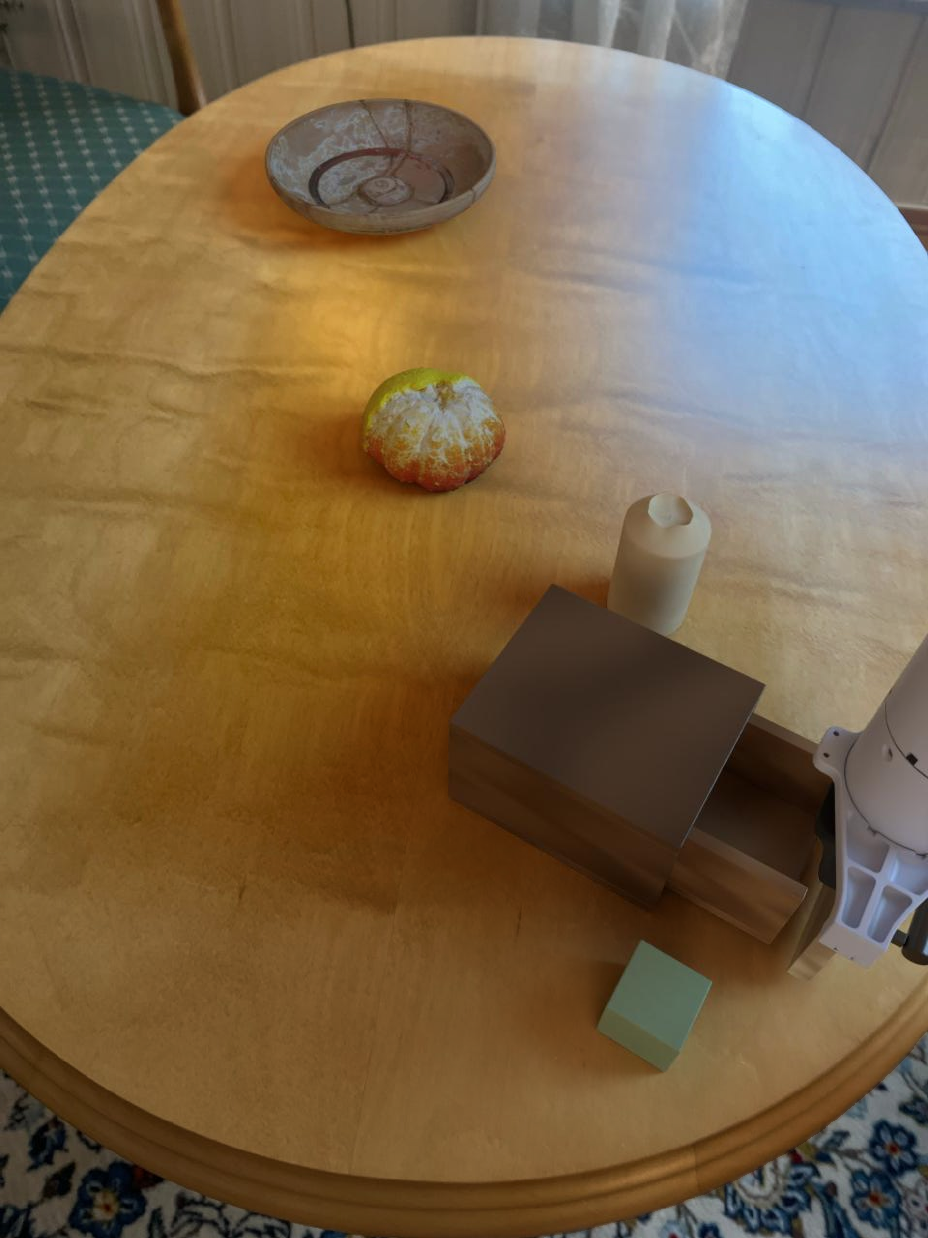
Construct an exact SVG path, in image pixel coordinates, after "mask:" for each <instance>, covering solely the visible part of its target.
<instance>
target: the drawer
mask: <svg viewBox="0 0 928 1238" xmlns="http://www.w3.org/2000/svg"><path fill="white" fill-rule="evenodd" d="M818 745H819V743H817V742H815V741H813V740H811V739H809V738H807V737H805V736H802V735H800V734H798V733H796V732H795V731H793V730H791V729H789V728H786V727H784V726H782V725H780V724H778V723H777V722H776V723H775V722H774V721H771V720H770V719H767V718H766V717H764V716H762V715H759V714H757V713H755V712H754V713H752V715H751V717H750V718H749V720H748V722H747V724H746V726H745V728H744V730H743V732H742V734H741V736H740V737H739V739H738V741H737V743H736V745H735V747H734V749H733V751H732V753H731V755H730V757H729V758H728V760H727V762H726V764H725V766H724V768H723V770H722V772H721V774H720V776H719V778H718V779H717V781H716V783H715V785H714V787H713V789H712V791H711V793H710V795H709V797H708V798H707V800H706V802H705V804H704V806H703V808H702V810H701V812H700V814H699V816H698V818H697V819H696V821H695V823H694V825H693V827H692V829H691V831H690V833H689V835H688V837H687V838H686V840H685V842H684V844H683V846H682V849H681V851H680V853H679V855H678V857H677V860H676V862H675V864H674V866H673V868H672V871H671V873H670V875H669V877H668V879H667V882H666V884H665V888H667V889H668V890H670V891H672V892H674V893H675V894H678V895H679V896H681V897H683V898H684V899H686V900H688V901H690V902H692V903H693V904H695V905H697V906H699V907H700V908H702V909H704V910H706V911H708V912H709V913H711V914H713V915H714V916H717V917H718V918H720V919H722V920H724V921H725V922H727V923H729V924H731V925H732V926H734V927H735V928H738V929H739V930H740V931H743V932H744V933H746V934H749V935H750V936H752V937H754V938H755V939H757V940H759V941H761V942H762V943H764V944H766V945H771V944H772V942H773V941H774V940H775V938H776V937H777V936H778V934H780V933H781V931H782V929H783V928H784V927H785V925H787V923H788V921H789V920H790V919H791V918H792V916H793V915H794V914H795V912H796V911H797V910H798V909H799V907H800V906H801V904H802V903H803V902H804V900H805V899H806V895H807V893H808V890H809V887H808V886H806V885H804V884H802V883H800V879H801V877H802V875H803V872H804V871H805V868H806V865H807V863H808V861H809V858H810V856H811V854H812V851H813V849H814V848H815V847H814V846H815V845H816V843H817V841H818V838H817V836H816V835H815V833H814V828H815V819H816V815H817V812H818V810H819V808H820V805H821V803H822V801H823V799H824V797H825V795H826V792H827V790H828V788H829V786H830V784H831V783H832V782H833V779H832V778H831V777H830V776H828V775H827V774H825V773H823V772H821V771H819V770H818V769H817V768H816V767H815V766H814V764H813V756H814V754H815V752H816V749H817V747H818ZM835 899H836V890H834V889H832V888H830V887H829V886H827V885H825V884H823V883H821V886H820V889H819V892H818V895H817V896H816V899H815V901H814V904H813V905H812V908H811V911H810V913H809V916H808V917H807V920H806V923H805V925H804V928H803V930H802V932H801V934H800V936H799V939H798V941H797V942H798V943H797V944H796V947H795V949H794V952H793V953H792V956H791V959H790V961H789V964H788V966H787V968H786V973H787V974H790V975H791V976H793V977H795V978H797V979H798V980H800V981H802V982H804V983H805V984H809V982H811V981H812V979H814V977H815V976H816V975H817V974H818V973H819V972H820V971H821V969H823V967H824V966H825V965H826V964H827V963H828V962H829V961H830V960H831V959H832V958H833V957H834V956H835V954H837V952H835V951H833V950H832V949H830V948H829V947H827V946H825V945H823V944H822V943H820V942H818V937H819V934H820V932H821V929H822V927H823V925H824V923H825V922H826V920H827V919H828V918H829V917H830V916H831V914H832V913H833V910H834V905H835ZM890 944H892V945H894V946H897V947H898V948H901V949H900V950H901V951H900V953H901V956H902V957H904V958H905V959H906V960H907V961H909V962H910V963H912V964H914V965H918V966H928V898H927V899H925V900H924V901H923V902H922V903H921V904H920V905H919V906H918V907H917V908H916V909H915V910H914V911H913V915H912V918H911V920H910V923H909V926H908V929H907V932H904V931H902V930H900V929H899V928H898V929H897V930H896V932H895V934H894V935H893V938H892V940H891V942H890Z"/></svg>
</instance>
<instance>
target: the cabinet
mask: <svg viewBox="0 0 928 1238" xmlns="http://www.w3.org/2000/svg"><path fill="white" fill-rule="evenodd" d="M766 688H767V684H766V683H764V682H762V681H759V680H757V679H756V678H753V677H751V676H749V675H747V674H745V673H743V672H741V671H738V670H736V669H735V668H732V667H731V666H728V665H726V664H725V663H722V662H719V661H718V660H716V659H713V658H711V657H709V656H707V655H705V654H702V653H700V652H698V651H696V650H694V649H692V648H690V647H689V646H687V645H684V644H682V643H680V642H677V641H675V640H673V639H671V638H669V637H668V636H663V635H661V634H659V633H657V632H654V631H652V630H650V629H648V628H646V627H644V626H642V625H640V624H638V623H636V622H633V621H631V620H629V619H627V618H625V617H623V616H621V615H619V614H617V613H615V612H612V611H610V610H608V608H606V607H604V606H602V605H599V604H598V603H596V602H594V601H592V600H589V599H587V598H585V597H583V596H581V595H579V594H577V593H574V592H572V591H570V590H568V589H566V588H564V587H562V586H560V585H558V584H555V583H551V585H550V586H549V588H548V589H547V590H546V591H545V593H544V594H543V595H542V597H541V598H540V599H539V601H538V602H537V603H536V605H535V606H534V608H533V609H532V610H531V611H530V613H529V614H528V615H527V616H526V618H525V619H524V621H523V622H522V623H521V624H520V626H519V627H518V629H517V630H516V631H515V632H514V634H513V635H512V636H511V638H510V639H509V640H508V642H507V643H506V645H505V646H504V647H503V648H502V650H501V651H500V652H499V654H498V655H497V656H496V658H495V659H494V661H493V662H492V663H491V664H490V666H489V667H488V668H487V670H486V671H485V672H484V673H483V675H482V676H481V678H480V679H479V680H478V681H477V683H476V684H475V685H474V686H473V689H472V690H471V691H470V693H468V695H467V696H466V697H465V699H464V700H463V702H462V703H461V704H460V706H458V708H457V710H456V711H455V712H454V713H453V715H451V717H450V719H449V720H448V760H447V761H448V762H447V763H448V766H447V768H448V769H447V770H448V773H447V776H448V777H447V779H448V780H447V797H448V798H450V799H451V800H454V801H455V802H457V803H458V804H460V805H462V806H463V807H465V808H467V809H469V810H471V811H472V812H474V813H476V814H478V816H481V817H483V818H484V819H486V820H488V821H490V822H491V823H493V824H495V825H497V826H499V828H502V829H504V830H505V831H507V832H508V833H511V834H512V835H514V836H516V837H517V838H518V839H519V838H520V839H521V840H523V841H524V842H526V843H528V844H529V845H531V846H533V847H535V848H536V849H538V850H540V851H542V852H544V853H545V854H547V855H549V856H551V858H554V859H555V860H558V861H559V862H560V863H563V864H564V865H566V866H568V867H570V868H571V869H573V870H574V871H576V872H578V873H580V874H582V875H583V876H585V877H587V878H588V879H590V880H592V881H594V882H596V883H597V884H599V885H601V886H602V887H604V888H606V889H608V890H609V891H611V892H613V893H614V894H616V895H618V896H619V897H621V898H623V899H625V900H626V901H628V902H630V903H632V904H633V905H635V906H637V907H639V909H642V910H644V911H646V912H647V913H649V914H653V912H654V909H655V908H656V906H657V904H658V902H659V899H660V898H661V896H662V894H663V892H664V890H665V889H666V887H665V884H666V882H667V879H668V877H669V875H670V873H671V871H672V868H673V866H674V864H675V862H676V860H677V857H678V855H679V853H680V851H681V849H682V846H683V844H684V842H685V840H686V838H687V837H688V835H689V833H690V831H691V829H692V827H693V825H694V823H695V821H696V819H697V818H698V816H699V814H700V812H701V810H702V808H703V806H704V804H705V802H706V800H707V798H708V797H709V795H710V793H711V791H712V789H713V787H714V785H715V783H716V781H717V779H718V778H719V776H720V774H721V772H722V770H723V768H724V766H725V764H726V762H727V760H728V758H729V757H730V755H731V753H732V751H733V749H734V747H735V745H736V743H737V741H738V739H739V737H740V736H741V734H742V732H743V730H744V728H745V726H746V724H747V722H748V720H749V718H750V717H751V715H752V713H755V711H756V708H757V706H758V705H759V702H760V700H761V698H762V696H763V694H764V692H765V690H766Z"/></svg>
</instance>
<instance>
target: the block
mask: <svg viewBox="0 0 928 1238" xmlns="http://www.w3.org/2000/svg"><path fill="white" fill-rule="evenodd" d="M712 985H713V981H712V980H711V979H710V978H708V977H706V976H704V975H703V974H701V973H699V972H698V971H696V970H694V969H692V968H691V967H689V966H688V965H686V964H684V963H682V962H681V961H679V960H677V959H676V958H674V957H672V956H670V955H668V954H667V953H665V952H664V951H662V950H660V949H658V948H657V947H655V946H654V945H652V944H650V943H649V942H647V941H645V940H643V939H640V940H639V941H638V943H637V945H636V947H635V949H634V951H633V953H632V955H631V957H630V958H629V961H628V962H627V965H626V966H625V968H624V970H623V972H622V974H621V976H620V978H619V980H618V982H617V983H616V986H615V987H614V989H613V992H612V993H611V995H610V997H609V999H608V1001H607V1003H606V1005H605V1007H604V1008H603V1009H604V1010H603V1011H602V1014H601V1016H600V1019H599V1020H598V1022H597V1024H596V1028H595V1030H596V1031H598V1032H599V1033H601V1034H603V1035H604V1036H605V1037H607V1038H608V1039H611V1040H612V1041H614V1042H615V1043H617V1044H619V1045H620V1046H622V1047H623V1048H625V1049H627V1050H628V1051H629V1052H631V1053H633V1054H634V1055H636V1056H638V1057H639V1058H641V1059H642V1060H644V1061H646V1062H647V1063H649V1064H650V1065H652V1066H653V1067H655V1068H657V1070H660V1071H661V1072H663V1073H666V1072H668V1070H669V1068H670V1067H671V1066H672V1065H673V1063H674V1062H675V1060H676V1059H677V1058H678V1057H679V1055H680V1054H681V1052H682V1050H683V1048H684V1045H685V1044H686V1041H687V1040H688V1037H689V1035H690V1033H691V1030H692V1029H693V1026H694V1024H695V1022H696V1020H697V1017H698V1015H699V1014H700V1011H701V1009H702V1006H703V1004H704V1003H705V1000H706V998H707V996H708V994H709V992H710V989H711V987H712Z"/></svg>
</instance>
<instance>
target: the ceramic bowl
mask: <svg viewBox="0 0 928 1238" xmlns="http://www.w3.org/2000/svg"><path fill="white" fill-rule="evenodd" d="M496 168H497V149H496V146H495V144H494V142H493V140H492V138H491V137H490V135H489V134H488V133H487V131H486V130H485V129H484V128H483V127H482V126H481V125H480V124H478V123H477V122H476V121H474V120H473V119H472V118H470V117H469V116H467V115H465V114H463V113H461V112H459V111H457V110H454V109H452V108H449V107H447V106H445V105H441V104H437V103H432V102H430V101H424V100H417V99H407V98H391V97H389V98H387V97H384V98H383V97H381V98H378V97H377V98H364V99H363V98H362V99H355V100H354V99H353V100H348V101H347V100H346V101H343V102H337V103H332V104H329V105H325V106H322V107H320V108H317V109H314V110H312V111H311V110H310V111H309V112H307V113H304V114H302V115H301V116H299V117H296V118H295V119H293V120H290V122H288V123H287V124H285V125H284V126H283V127H281V129H280V130H278V131H277V132H276V133H275V134H274V135H273V136H272V138H271V139H270V141H269V143H268V144H267V146H266V150H265V154H264V171H265V174H266V179H267V181H268V183H269V186H270V187H271V188H272V189H273V191H274V192H275V194H276V195H277V196H278V197H279V199H281V201H282V202H283V203H284V204H285V205H286V206H287V207H289V208H290V209H291V210H292V211H294V212H295V213H297V214H298V215H300V216H301V217H303V218H305V219H306V220H308V221H310V222H312V223H315V224H316V225H319V226H320V227H324V228H328V229H331V230H334V231H338V232H343V233H347V234H348V233H349V234H354V235H355V234H356V235H363V236H364V235H365V236H366V235H367V236H369V235H370V236H391V235H392V236H393V235H401V234H408V233H414V232H418V231H421V230H426V229H429V228H432V227H433V228H434V227H435V226H438V225H440V224H444V223H446V222H447V221H450V220H452V219H454V218H456V217H458V216H459V215H461V214H462V213H464V212H465V211H467V210H469V208H471V207H472V205H474V204H475V203H476V202H477V201H478V200H479V199H480V198H481V197H482V196H483V195H484V193H485V192H486V191H487V190H488V188H489V186H491V184H492V181H493V179H494V176H495V173H496Z"/></svg>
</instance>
